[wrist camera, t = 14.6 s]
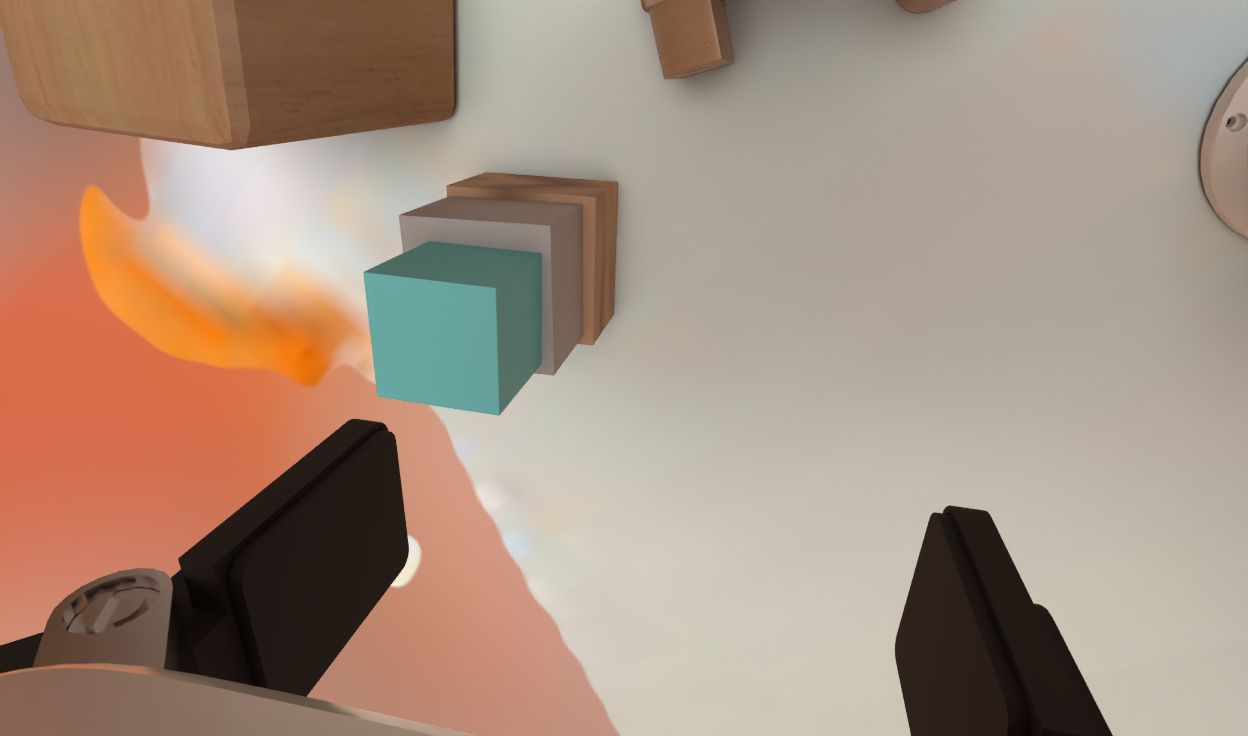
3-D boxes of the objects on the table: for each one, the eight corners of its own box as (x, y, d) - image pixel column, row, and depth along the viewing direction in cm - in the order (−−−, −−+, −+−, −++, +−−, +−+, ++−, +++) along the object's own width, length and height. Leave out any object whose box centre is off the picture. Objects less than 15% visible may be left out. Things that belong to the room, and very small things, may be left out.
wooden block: (321, 104, 44) (13, 124, 26) (305, -72, 40) (-73, -190, 22) (460, 122, 43) (235, 156, 25) (459, -59, 39) (187, -173, 21)
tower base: (618, 181, 42) (595, 197, 37) (614, 313, 46) (592, 345, 41) (486, 172, 44) (446, 185, 39) (492, 300, 48) (456, 329, 42)
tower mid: (582, 204, 37) (550, 225, 32) (582, 335, 41) (553, 375, 35) (451, 195, 39) (398, 215, 33) (461, 323, 42) (415, 359, 37)
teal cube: (541, 253, 33) (495, 288, 27) (541, 363, 35) (499, 415, 30) (429, 240, 34) (363, 272, 28) (436, 349, 36) (377, 396, 31)
